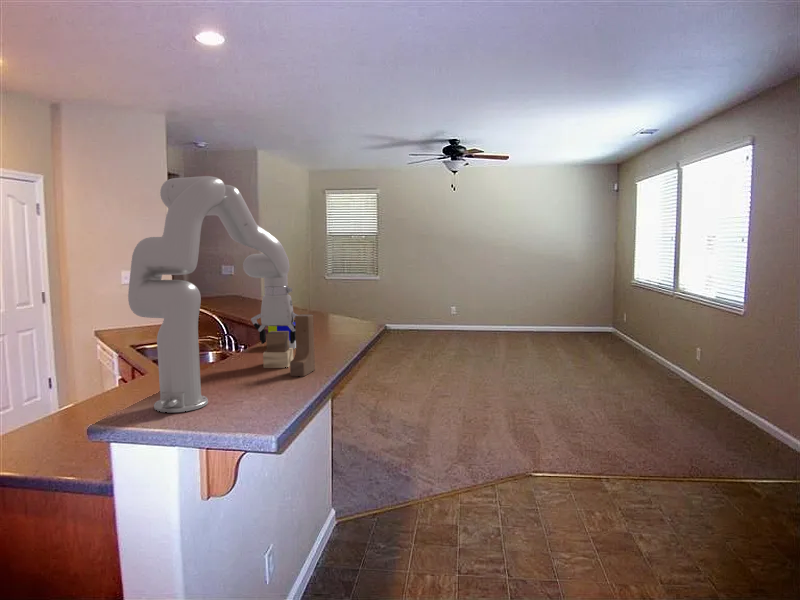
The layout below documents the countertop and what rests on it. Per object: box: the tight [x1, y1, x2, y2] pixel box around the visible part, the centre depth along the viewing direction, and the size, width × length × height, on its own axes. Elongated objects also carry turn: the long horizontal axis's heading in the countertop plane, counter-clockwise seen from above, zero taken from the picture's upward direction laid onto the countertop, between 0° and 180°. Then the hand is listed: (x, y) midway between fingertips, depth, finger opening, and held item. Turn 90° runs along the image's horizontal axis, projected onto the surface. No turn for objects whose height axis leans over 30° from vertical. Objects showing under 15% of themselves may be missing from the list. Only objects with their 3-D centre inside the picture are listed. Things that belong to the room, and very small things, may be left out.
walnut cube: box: [265, 331, 289, 352], centre depth 183 cm, size 6×6×6 cm
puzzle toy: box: [267, 319, 296, 350], centre depth 216 cm, size 10×10×10 cm
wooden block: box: [289, 313, 316, 378], centre depth 171 cm, size 9×4×18 cm, turn 166°
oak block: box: [262, 348, 294, 369], centre depth 184 cm, size 8×8×5 cm
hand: (278, 342), depth 183 cm, fingers open, 9 cm apart
